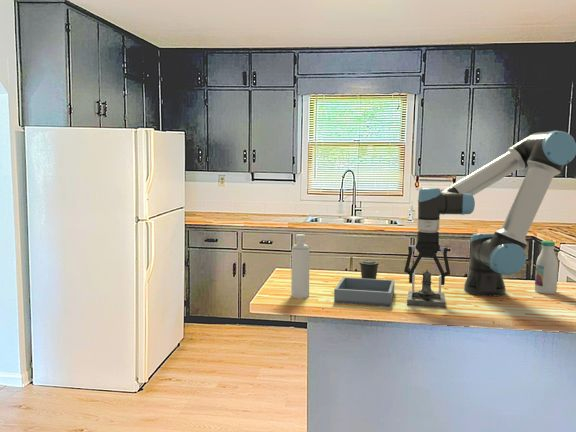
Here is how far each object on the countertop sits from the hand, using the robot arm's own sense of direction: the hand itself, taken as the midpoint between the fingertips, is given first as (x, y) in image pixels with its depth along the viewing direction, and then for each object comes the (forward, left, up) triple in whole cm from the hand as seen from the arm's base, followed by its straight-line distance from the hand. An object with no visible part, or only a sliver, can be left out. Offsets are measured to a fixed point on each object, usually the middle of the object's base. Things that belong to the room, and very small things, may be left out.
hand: (426, 292), depth 194 cm
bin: (+22, 0, -3) cm, 22 cm away
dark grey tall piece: (0, 0, -4) cm, 4 cm away
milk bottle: (-45, -27, -4) cm, 53 cm away
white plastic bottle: (+46, +4, -4) cm, 46 cm away
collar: (0, 0, -3) cm, 3 cm away
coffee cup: (+23, -21, -4) cm, 31 cm away
